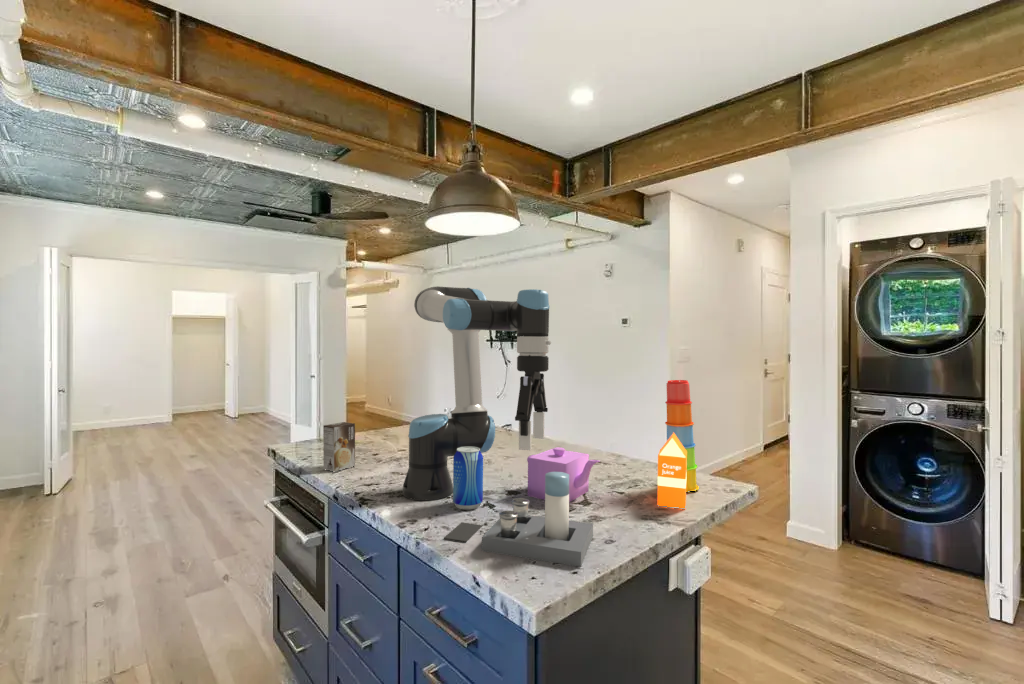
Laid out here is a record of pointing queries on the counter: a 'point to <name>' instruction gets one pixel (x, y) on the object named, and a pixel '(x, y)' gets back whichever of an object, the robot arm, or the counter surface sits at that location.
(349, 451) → the coffee box
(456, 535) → the mat
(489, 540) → the housing
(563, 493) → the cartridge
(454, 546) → the counter surface
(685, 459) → the orange juice
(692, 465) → the stacking cups
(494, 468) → the counter surface
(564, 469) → the teapot
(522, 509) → the plunger far
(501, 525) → the chrome dome knob
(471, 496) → the beer can
